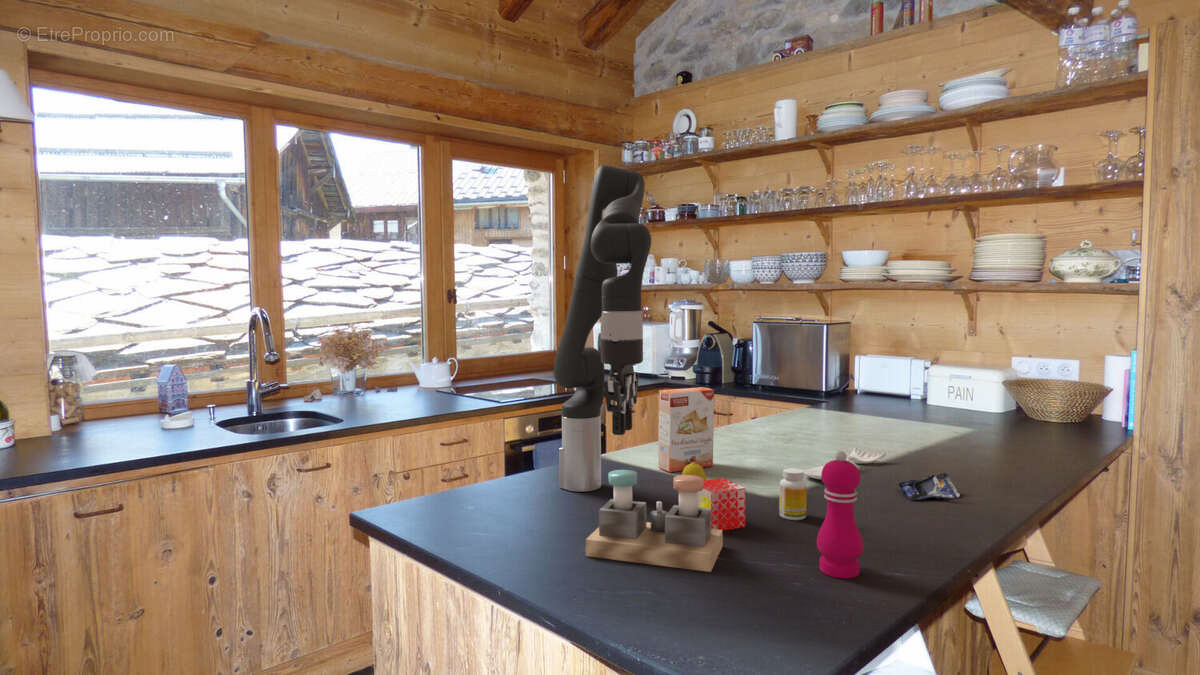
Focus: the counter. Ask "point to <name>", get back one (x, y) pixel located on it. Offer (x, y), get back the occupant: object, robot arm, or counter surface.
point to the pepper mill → (840, 520)
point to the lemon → (694, 470)
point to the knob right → (688, 494)
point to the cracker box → (686, 428)
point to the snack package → (929, 488)
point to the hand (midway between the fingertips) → (622, 431)
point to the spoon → (854, 457)
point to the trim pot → (658, 519)
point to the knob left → (622, 488)
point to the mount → (656, 538)
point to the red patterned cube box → (723, 503)
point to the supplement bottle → (792, 495)
